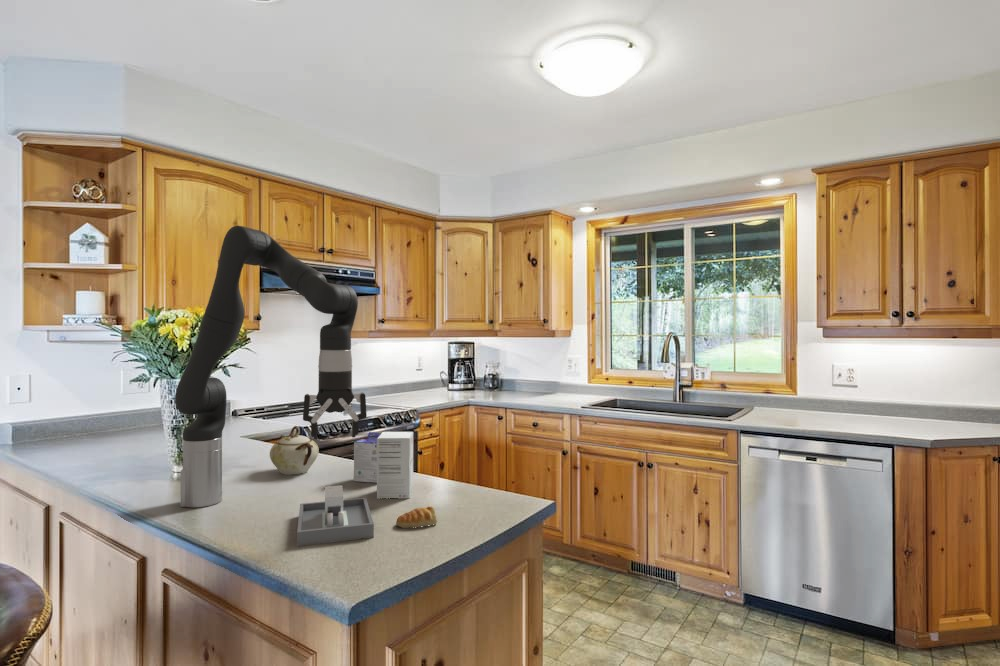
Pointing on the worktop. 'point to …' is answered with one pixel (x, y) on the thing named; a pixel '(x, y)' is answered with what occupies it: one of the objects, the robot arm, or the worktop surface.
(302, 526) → the guide tray
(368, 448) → the ink cartridge box
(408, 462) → the supplement box
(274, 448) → the sugar bowl
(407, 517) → the pastry
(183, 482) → the robot arm
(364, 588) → the worktop surface
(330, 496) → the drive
